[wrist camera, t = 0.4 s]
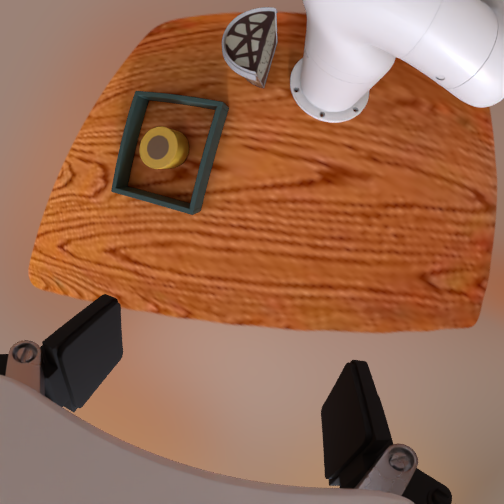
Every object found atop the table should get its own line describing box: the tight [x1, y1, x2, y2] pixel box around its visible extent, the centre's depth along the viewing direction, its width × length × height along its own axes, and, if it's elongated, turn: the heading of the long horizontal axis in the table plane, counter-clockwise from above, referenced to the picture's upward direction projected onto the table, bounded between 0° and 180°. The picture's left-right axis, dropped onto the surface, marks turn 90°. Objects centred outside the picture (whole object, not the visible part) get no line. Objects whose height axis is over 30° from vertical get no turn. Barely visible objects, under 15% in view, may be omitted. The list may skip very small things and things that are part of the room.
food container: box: [222, 7, 277, 88], centre depth 31 cm, size 12×6×10 cm, turn 166°
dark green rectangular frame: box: [112, 91, 229, 215], centre depth 40 cm, size 18×16×4 cm
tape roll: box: [140, 127, 189, 169], centre depth 39 cm, size 7×7×5 cm
